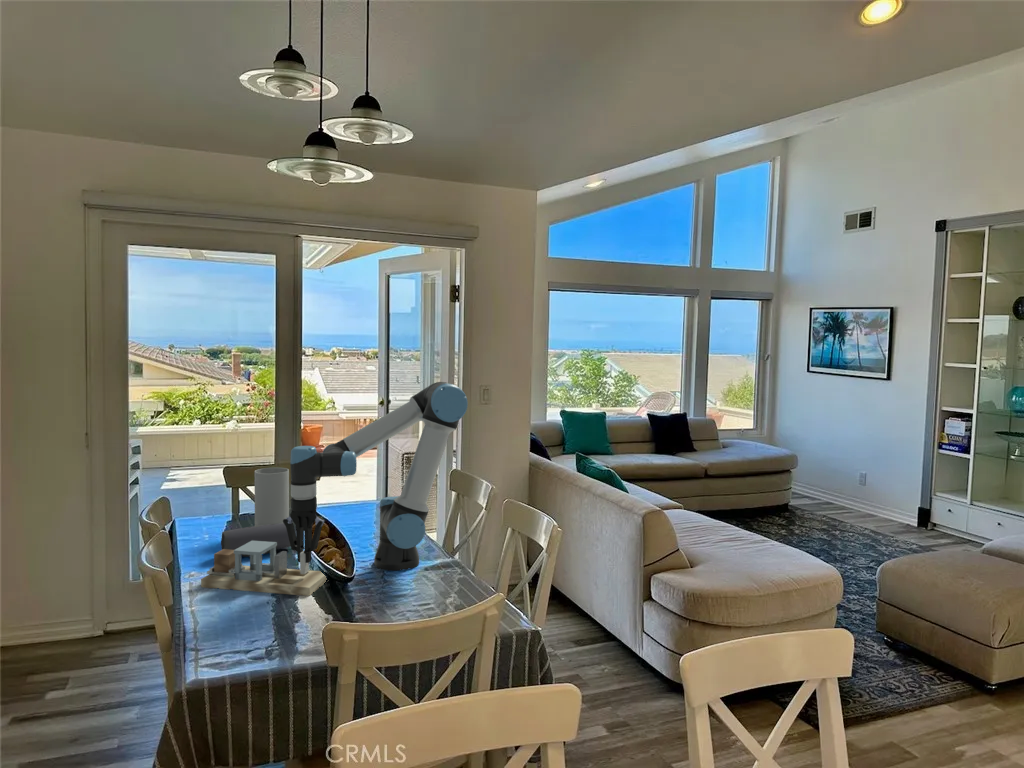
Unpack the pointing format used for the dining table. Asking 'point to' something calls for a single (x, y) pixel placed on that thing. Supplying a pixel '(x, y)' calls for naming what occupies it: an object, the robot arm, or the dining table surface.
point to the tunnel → (254, 559)
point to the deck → (270, 582)
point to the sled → (279, 571)
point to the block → (224, 560)
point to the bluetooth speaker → (256, 536)
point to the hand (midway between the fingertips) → (304, 572)
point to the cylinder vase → (271, 496)
